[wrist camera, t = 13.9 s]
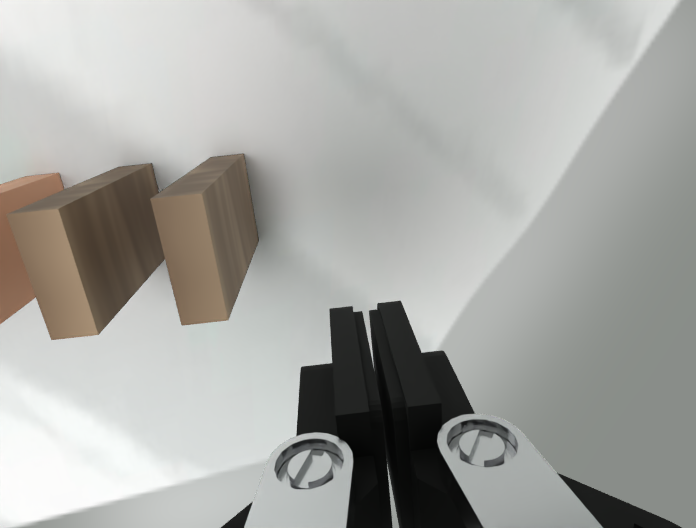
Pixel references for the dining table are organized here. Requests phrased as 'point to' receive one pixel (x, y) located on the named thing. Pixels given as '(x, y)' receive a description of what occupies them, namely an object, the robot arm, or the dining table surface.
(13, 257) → the domino
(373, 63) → the dining table surface
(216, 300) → the domino
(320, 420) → the robot arm
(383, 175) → the dining table surface
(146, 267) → the domino
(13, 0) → the dining table surface
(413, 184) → the dining table surface
